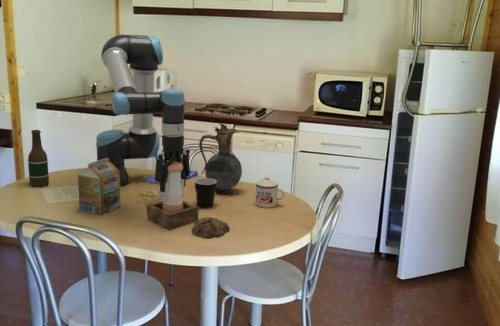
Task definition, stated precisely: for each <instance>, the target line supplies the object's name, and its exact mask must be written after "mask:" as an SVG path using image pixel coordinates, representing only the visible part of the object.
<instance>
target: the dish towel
mask: <svg viewBox="0 0 500 326" xmlns="http://www.w3.org/2000/svg"><path fill="white" fill-rule="evenodd" d="M198 176H199V173H198V170H190V176H187V177H188V178H187V179H185V182H186V181H188V180H191V179H194V178H196V177H198ZM139 181H141V182H144V183H146V184H147V183H149V184H153V185H157V186H160V183H159V182H156V181H155V173H154V174H152V175H148V176H144V177H142V178H139Z"/></svg>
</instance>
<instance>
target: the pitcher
mask: <svg viewBox="0 0 500 326" xmlns="http://www.w3.org/2000/svg"><path fill="white" fill-rule="evenodd" d="M219 126H220V128H218V127H217V126H215V127H213V128H215V129H214V131H215V133H216V135H212V134H206V133H205V134H204V135H202V136H201V138H200V139H199V144H198V147H199V150H200V153H201V155H202V158H203V160H204V165H205V166H204V168H203V170H202V172H201V173H200V175H203V173H204V172H205V178H209V179H214V180H216V181H217V183H216V190H215V194H216V193H217V194H222V195H225V194H226V195H228V194H231V193H232V192H233V189H232V188H233V187H235V186H237V184H239V182H240V180H241V178H242V175H243V167H242V164H241V161H240V160H239V159H238V157H237V156H235V155H233V154H232V153H231V145H232V140H231V139H232V136H233V135H234V134H235V133H237V134H240V131H238V130H236V129H235V128H228V127H229V126H228V125H226V124H225V125H224V124H223V123H219ZM205 139H211V140H214V141H216V142H217V145H218V152H217V153H216V154H214V155H211V156H210V158H209V159H208V160H207V159H206V156H205V153H204V151H203V150H204V149H203V141H204V140H205Z"/></svg>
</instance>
